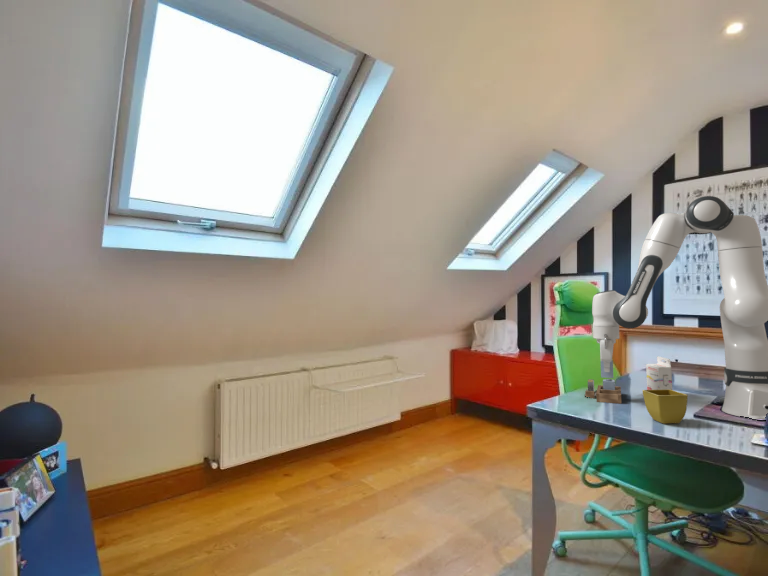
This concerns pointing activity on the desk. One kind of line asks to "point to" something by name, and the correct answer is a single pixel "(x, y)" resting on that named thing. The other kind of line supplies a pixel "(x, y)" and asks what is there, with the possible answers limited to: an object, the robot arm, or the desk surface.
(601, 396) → the housing
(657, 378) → the ink cartridge box
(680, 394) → the flower pot
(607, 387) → the seated jaw
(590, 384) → the latch bar
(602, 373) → the loose jaw
